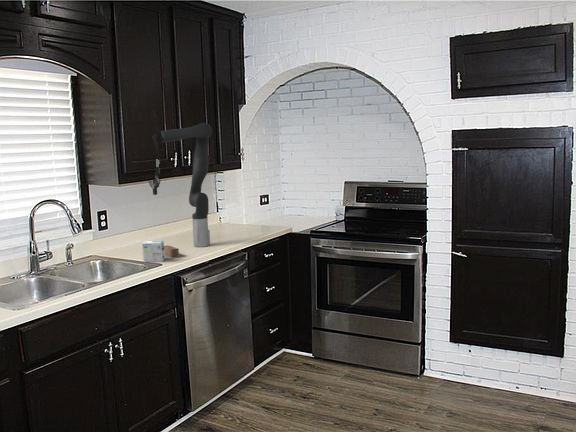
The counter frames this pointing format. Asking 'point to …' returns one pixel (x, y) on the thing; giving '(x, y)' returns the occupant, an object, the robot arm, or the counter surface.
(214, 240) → the counter surface
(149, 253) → the light bulb box
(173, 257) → the mat
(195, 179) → the robot arm
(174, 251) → the walnut block
